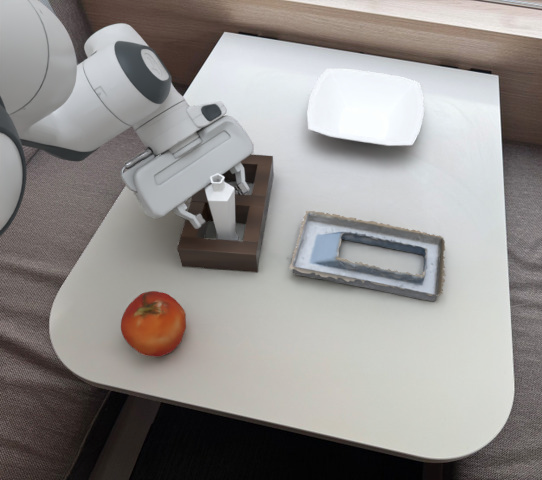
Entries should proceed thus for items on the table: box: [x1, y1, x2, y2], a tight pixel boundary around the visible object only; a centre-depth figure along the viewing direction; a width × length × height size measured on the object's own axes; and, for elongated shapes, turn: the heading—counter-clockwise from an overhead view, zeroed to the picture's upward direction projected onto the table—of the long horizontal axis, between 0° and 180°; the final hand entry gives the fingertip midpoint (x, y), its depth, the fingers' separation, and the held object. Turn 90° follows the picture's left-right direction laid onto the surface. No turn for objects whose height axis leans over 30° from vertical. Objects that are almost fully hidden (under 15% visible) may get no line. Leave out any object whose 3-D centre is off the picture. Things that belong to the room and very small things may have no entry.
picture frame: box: [289, 210, 446, 302], centre depth 87 cm, size 13×25×3 cm, turn 80°
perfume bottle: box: [205, 173, 239, 241], centre depth 83 cm, size 5×4×15 cm
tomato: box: [120, 290, 187, 358], centre depth 75 cm, size 9×9×8 cm
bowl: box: [306, 68, 425, 147], centre depth 107 cm, size 22×23×6 cm
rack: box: [176, 153, 275, 273], centre depth 90 cm, size 22×12×5 cm, turn 176°
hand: (223, 209), depth 82 cm, fingers open, 8 cm apart
